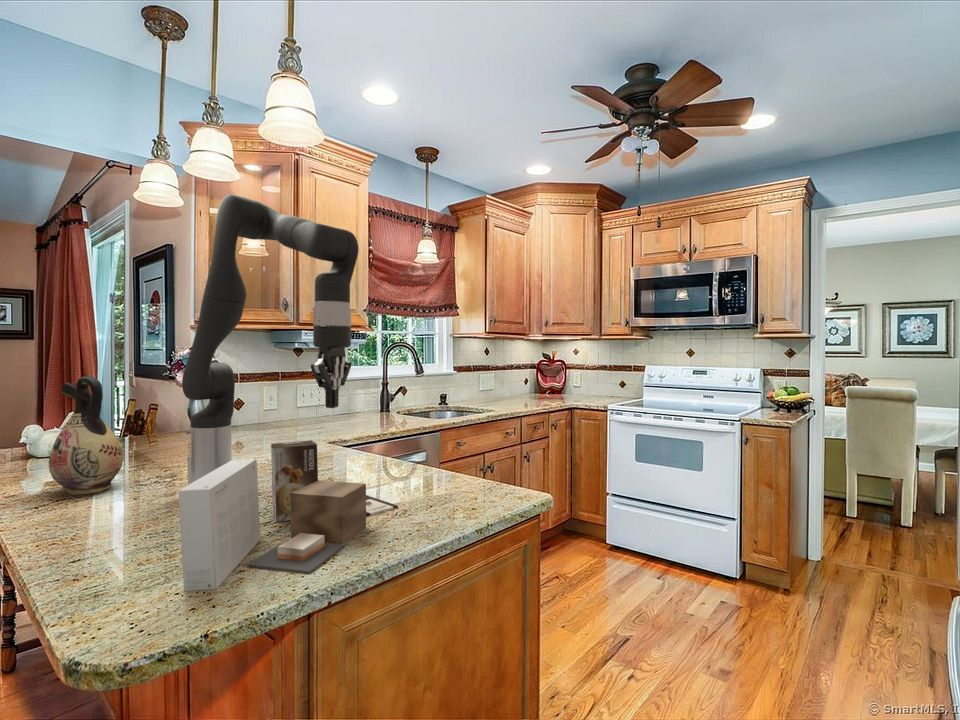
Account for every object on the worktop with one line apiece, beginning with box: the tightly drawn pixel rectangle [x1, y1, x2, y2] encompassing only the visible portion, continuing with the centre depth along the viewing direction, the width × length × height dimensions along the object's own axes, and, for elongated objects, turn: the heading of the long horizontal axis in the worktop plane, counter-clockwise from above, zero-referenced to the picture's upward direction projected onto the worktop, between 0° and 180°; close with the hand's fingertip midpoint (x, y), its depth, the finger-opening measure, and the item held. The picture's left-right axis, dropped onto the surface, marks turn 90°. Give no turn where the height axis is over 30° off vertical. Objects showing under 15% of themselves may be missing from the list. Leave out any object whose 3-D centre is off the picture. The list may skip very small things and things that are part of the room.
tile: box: [277, 533, 325, 561], centre depth 94 cm, size 5×7×2 cm
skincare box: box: [178, 458, 262, 592], centre depth 90 cm, size 21×5×16 cm, turn 5°
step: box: [290, 480, 367, 545], centre depth 105 cm, size 11×10×9 cm
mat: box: [245, 538, 346, 575], centre depth 93 cm, size 12×12×1 cm
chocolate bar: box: [366, 494, 399, 517], centre depth 124 cm, size 9×1×18 cm
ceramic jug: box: [48, 375, 124, 496], centre depth 135 cm, size 17×15×30 cm
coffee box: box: [270, 440, 319, 523], centre depth 116 cm, size 9×6×16 cm
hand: (331, 407), depth 109 cm, fingers closed
